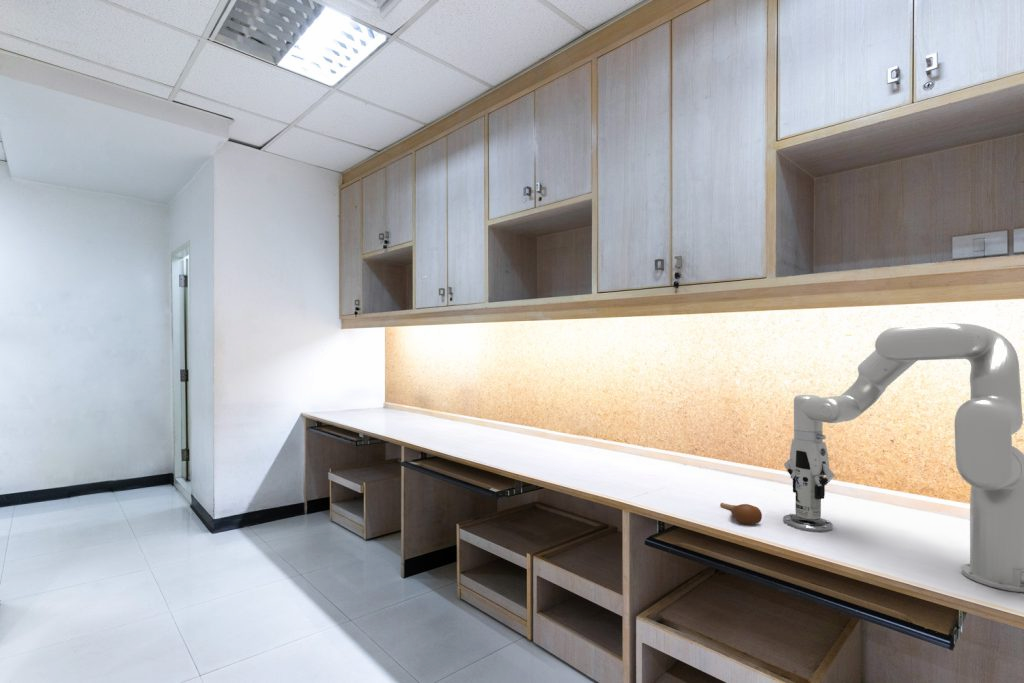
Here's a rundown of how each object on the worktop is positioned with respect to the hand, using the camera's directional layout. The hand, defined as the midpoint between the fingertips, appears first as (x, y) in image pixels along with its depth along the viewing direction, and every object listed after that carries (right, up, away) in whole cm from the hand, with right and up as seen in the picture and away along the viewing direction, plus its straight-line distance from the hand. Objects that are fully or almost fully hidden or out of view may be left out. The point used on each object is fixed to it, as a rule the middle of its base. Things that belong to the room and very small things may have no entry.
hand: (808, 494), depth 153 cm
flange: (0, -9, 0) cm, 9 cm away
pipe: (-19, -9, +7) cm, 23 cm away
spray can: (0, -7, 0) cm, 7 cm away
